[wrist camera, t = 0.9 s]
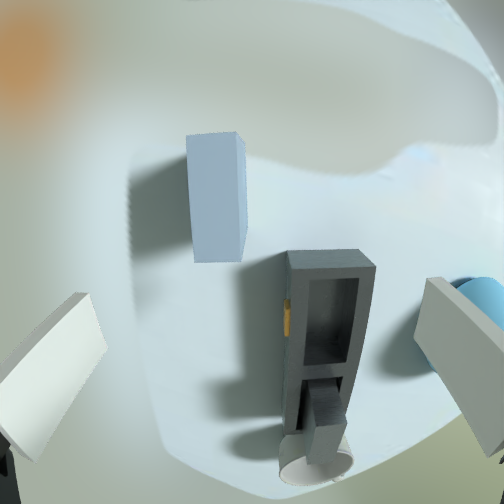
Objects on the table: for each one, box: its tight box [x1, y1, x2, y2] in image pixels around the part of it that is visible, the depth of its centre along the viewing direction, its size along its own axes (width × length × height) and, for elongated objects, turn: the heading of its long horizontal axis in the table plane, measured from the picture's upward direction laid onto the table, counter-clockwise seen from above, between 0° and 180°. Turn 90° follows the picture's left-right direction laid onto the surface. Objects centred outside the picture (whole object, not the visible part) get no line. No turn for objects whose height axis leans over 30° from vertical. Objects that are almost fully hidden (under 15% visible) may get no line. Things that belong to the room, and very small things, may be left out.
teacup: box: [279, 434, 354, 486], centre depth 34 cm, size 14×11×8 cm
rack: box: [282, 249, 376, 465], centre depth 26 cm, size 23×8×11 cm, turn 2°
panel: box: [186, 132, 248, 263], centre depth 22 cm, size 8×3×10 cm, turn 2°
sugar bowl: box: [426, 277, 504, 374], centre depth 25 cm, size 15×15×12 cm
